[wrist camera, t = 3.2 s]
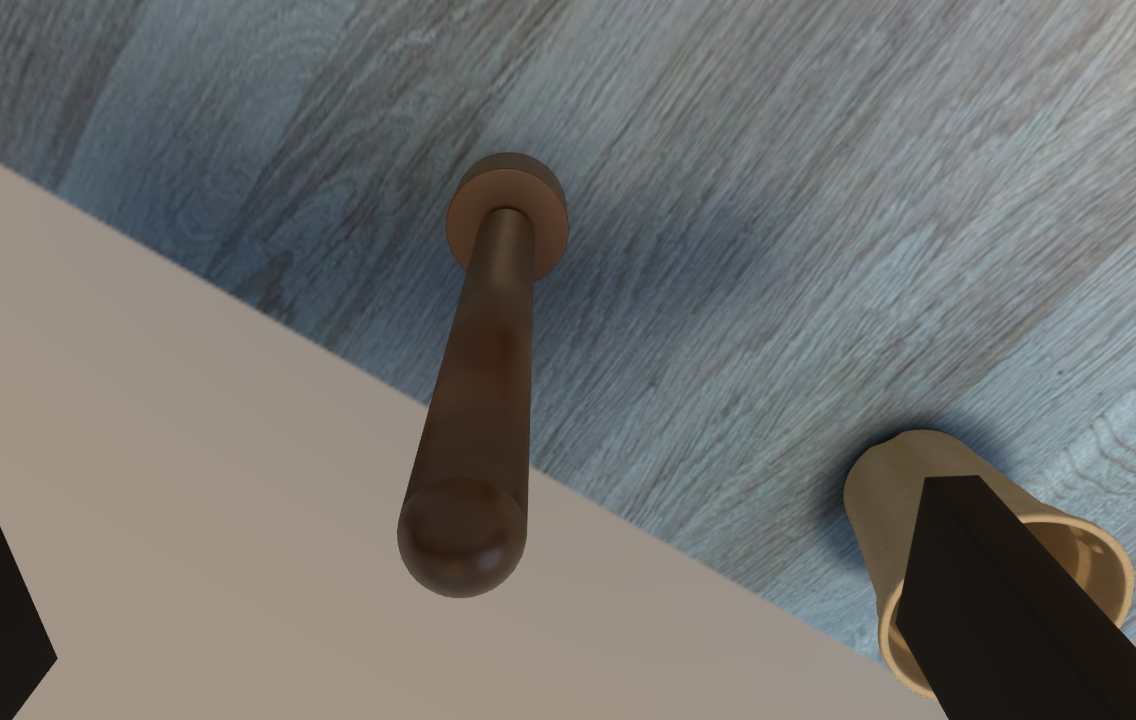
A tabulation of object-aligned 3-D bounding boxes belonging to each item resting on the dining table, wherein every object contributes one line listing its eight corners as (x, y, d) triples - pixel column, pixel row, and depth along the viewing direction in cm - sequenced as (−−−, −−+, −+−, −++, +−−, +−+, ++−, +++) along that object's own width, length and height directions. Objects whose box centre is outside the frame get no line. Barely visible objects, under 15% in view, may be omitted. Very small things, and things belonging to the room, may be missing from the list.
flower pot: (998, 546, 38) (1115, 688, 30) (810, 574, 38) (878, 721, 31) (1015, 382, 34) (1156, 497, 26) (805, 415, 34) (882, 537, 27)
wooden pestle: (459, 265, 31) (328, 691, 12) (448, 154, 29) (272, 451, 10) (568, 260, 31) (610, 678, 12) (564, 150, 29) (608, 436, 10)
